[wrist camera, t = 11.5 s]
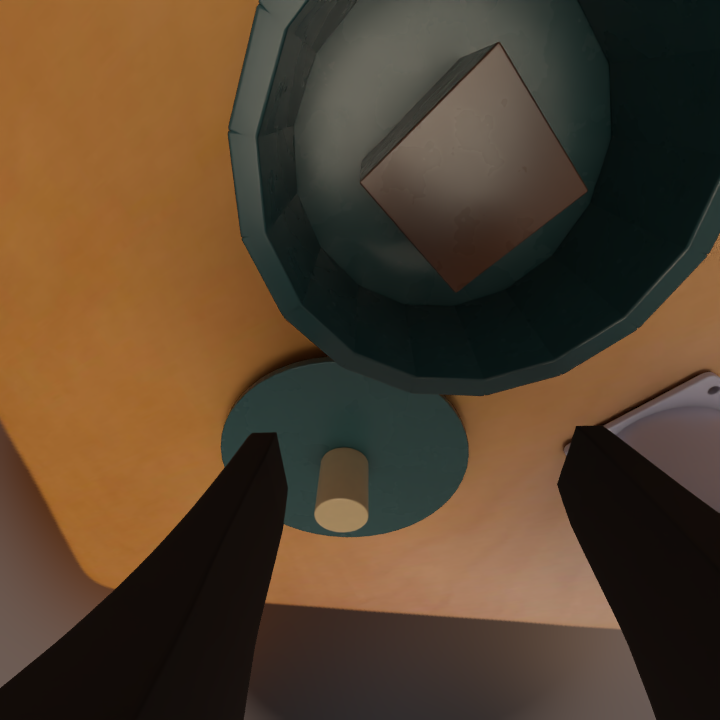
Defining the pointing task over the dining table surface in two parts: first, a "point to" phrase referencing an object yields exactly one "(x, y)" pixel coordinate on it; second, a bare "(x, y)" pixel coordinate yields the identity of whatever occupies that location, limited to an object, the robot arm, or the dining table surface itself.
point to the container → (535, 254)
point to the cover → (352, 447)
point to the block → (471, 168)
